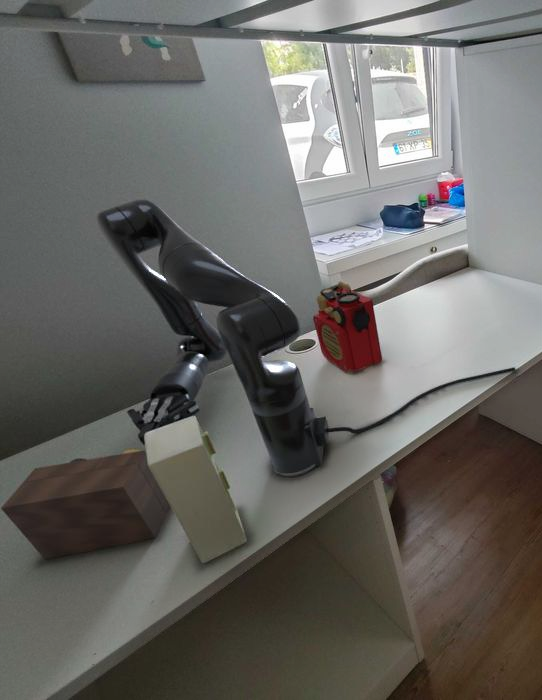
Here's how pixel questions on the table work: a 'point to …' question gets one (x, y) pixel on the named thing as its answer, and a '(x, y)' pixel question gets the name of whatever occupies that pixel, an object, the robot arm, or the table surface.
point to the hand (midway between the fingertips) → (145, 440)
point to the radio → (347, 328)
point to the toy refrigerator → (195, 487)
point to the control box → (88, 505)
